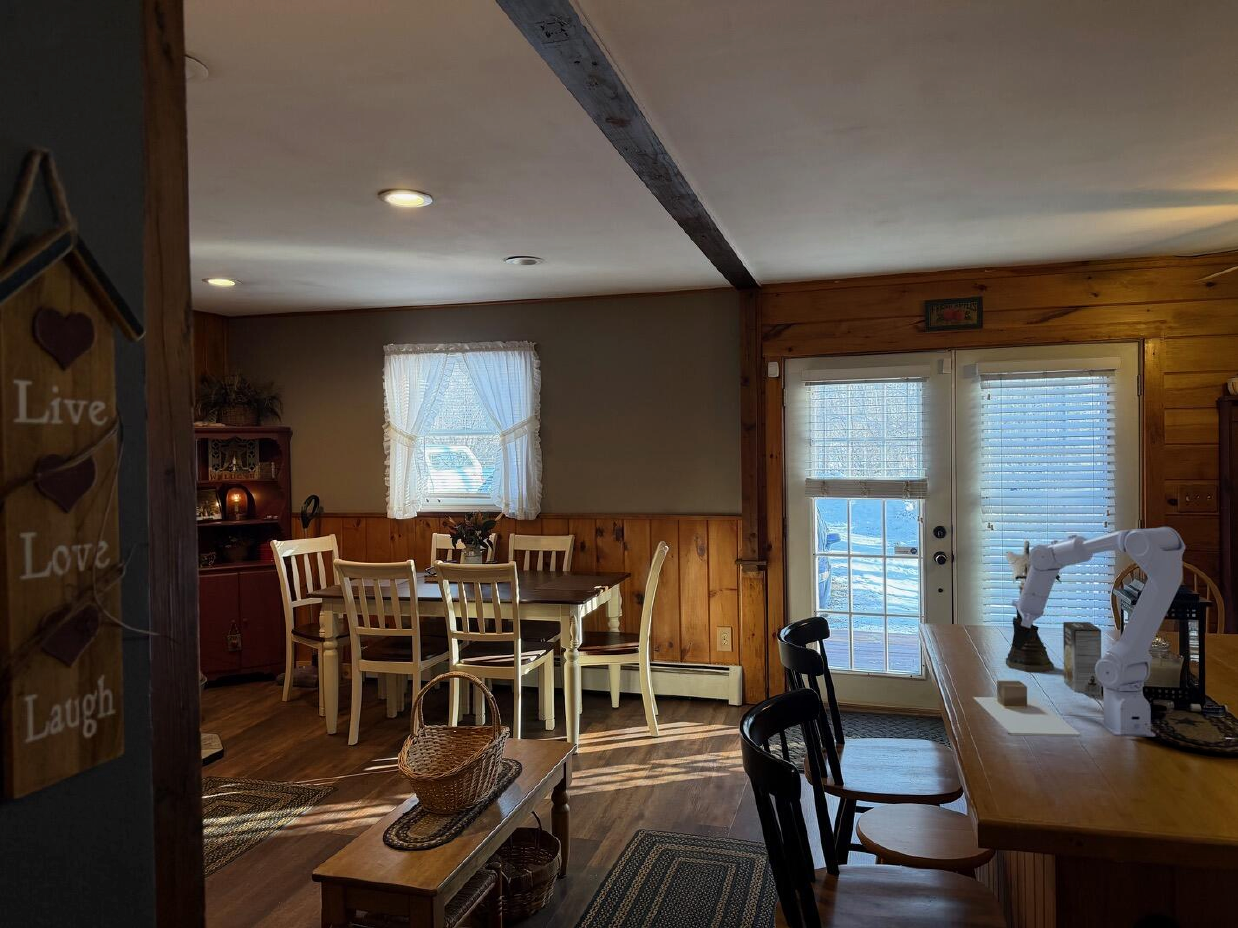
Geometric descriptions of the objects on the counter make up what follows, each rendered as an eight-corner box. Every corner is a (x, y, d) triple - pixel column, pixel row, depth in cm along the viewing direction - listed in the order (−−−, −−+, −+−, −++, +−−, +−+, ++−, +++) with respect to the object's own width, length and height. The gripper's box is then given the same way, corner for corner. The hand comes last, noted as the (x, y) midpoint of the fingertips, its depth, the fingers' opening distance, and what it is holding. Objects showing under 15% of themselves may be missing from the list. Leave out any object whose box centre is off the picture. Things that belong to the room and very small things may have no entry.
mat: (1080, 736, 176) (1080, 733, 176) (1010, 735, 178) (1010, 732, 178) (1034, 700, 202) (1034, 697, 202) (972, 699, 204) (972, 697, 204)
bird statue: (1071, 677, 221) (1069, 543, 221) (1017, 675, 224) (1015, 543, 223) (1052, 662, 237) (1050, 537, 237) (1002, 660, 240) (1000, 537, 240)
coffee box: (1062, 684, 215) (1061, 621, 215) (1090, 685, 214) (1089, 621, 214) (1074, 694, 206) (1073, 628, 206) (1103, 695, 205) (1102, 629, 205)
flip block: (1027, 708, 194) (1027, 686, 194) (1004, 707, 195) (1004, 686, 195) (1019, 701, 199) (1019, 680, 199) (997, 701, 200) (996, 680, 199)
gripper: (1020, 574, 208) (1003, 621, 212) (1015, 597, 195) (997, 646, 200) (1051, 584, 205) (1033, 632, 210) (1048, 608, 192) (1029, 658, 197)
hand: (1018, 640), depth 205 cm, fingers open, 7 cm apart
